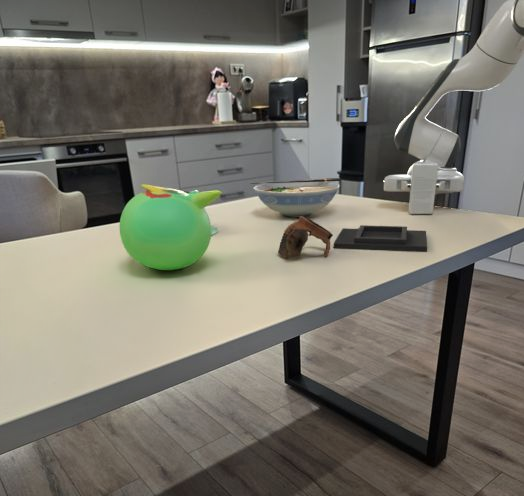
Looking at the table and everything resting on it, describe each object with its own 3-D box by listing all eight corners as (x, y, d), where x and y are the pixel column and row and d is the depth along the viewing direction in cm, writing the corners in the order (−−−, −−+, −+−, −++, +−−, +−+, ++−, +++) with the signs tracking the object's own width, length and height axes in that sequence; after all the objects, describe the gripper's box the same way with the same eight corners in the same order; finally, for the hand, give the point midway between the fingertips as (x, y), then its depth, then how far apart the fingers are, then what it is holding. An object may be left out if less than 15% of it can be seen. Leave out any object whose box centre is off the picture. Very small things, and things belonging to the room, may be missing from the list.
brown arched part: (281, 250, 98) (301, 213, 96) (320, 274, 97) (341, 237, 94) (263, 249, 87) (285, 208, 85) (306, 276, 86) (330, 235, 83)
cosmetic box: (431, 211, 127) (437, 163, 122) (432, 214, 123) (438, 164, 118) (407, 211, 128) (412, 163, 123) (408, 214, 125) (413, 165, 119)
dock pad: (425, 235, 104) (426, 226, 103) (426, 251, 92) (428, 241, 91) (342, 232, 109) (342, 223, 108) (333, 248, 97) (333, 238, 96)
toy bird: (118, 261, 93) (105, 181, 86) (201, 250, 99) (195, 174, 92) (136, 288, 78) (122, 194, 72) (233, 272, 84) (228, 185, 78)
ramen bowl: (250, 224, 120) (248, 190, 116) (251, 208, 140) (250, 179, 137) (349, 221, 120) (351, 187, 116) (336, 205, 140) (337, 176, 137)
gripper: (385, 168, 135) (382, 174, 124) (462, 168, 130) (467, 174, 118) (383, 191, 138) (380, 199, 126) (459, 192, 133) (463, 200, 121)
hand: (423, 187), depth 122 cm, fingers closed on cosmetic box, 6 cm apart
